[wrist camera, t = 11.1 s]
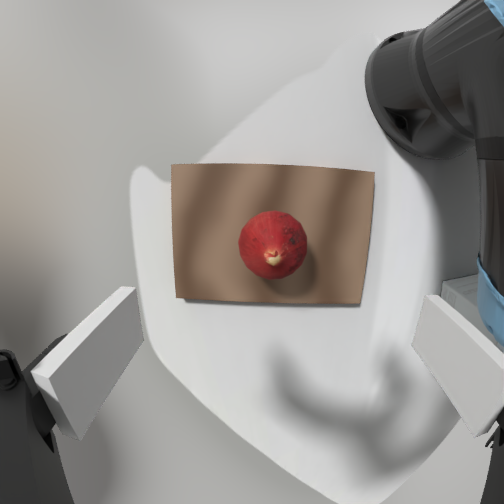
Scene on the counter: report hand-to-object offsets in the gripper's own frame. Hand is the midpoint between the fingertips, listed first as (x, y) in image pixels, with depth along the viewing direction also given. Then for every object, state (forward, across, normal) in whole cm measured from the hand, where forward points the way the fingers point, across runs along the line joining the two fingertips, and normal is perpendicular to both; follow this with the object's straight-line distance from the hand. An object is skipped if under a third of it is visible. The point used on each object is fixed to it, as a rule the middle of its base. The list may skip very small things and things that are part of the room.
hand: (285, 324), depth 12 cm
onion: (+17, 0, 0) cm, 17 cm away
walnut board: (+18, 0, 0) cm, 19 cm away
